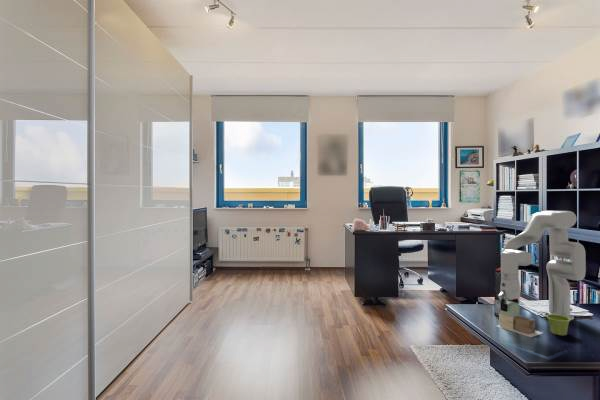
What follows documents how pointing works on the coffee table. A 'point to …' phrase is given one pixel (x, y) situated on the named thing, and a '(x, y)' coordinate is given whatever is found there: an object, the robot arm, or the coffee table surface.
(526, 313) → the coffee table surface
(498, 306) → the graphics card box
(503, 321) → the maple base
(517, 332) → the board
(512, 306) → the sage block
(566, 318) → the plant pot
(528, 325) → the walnut cube
